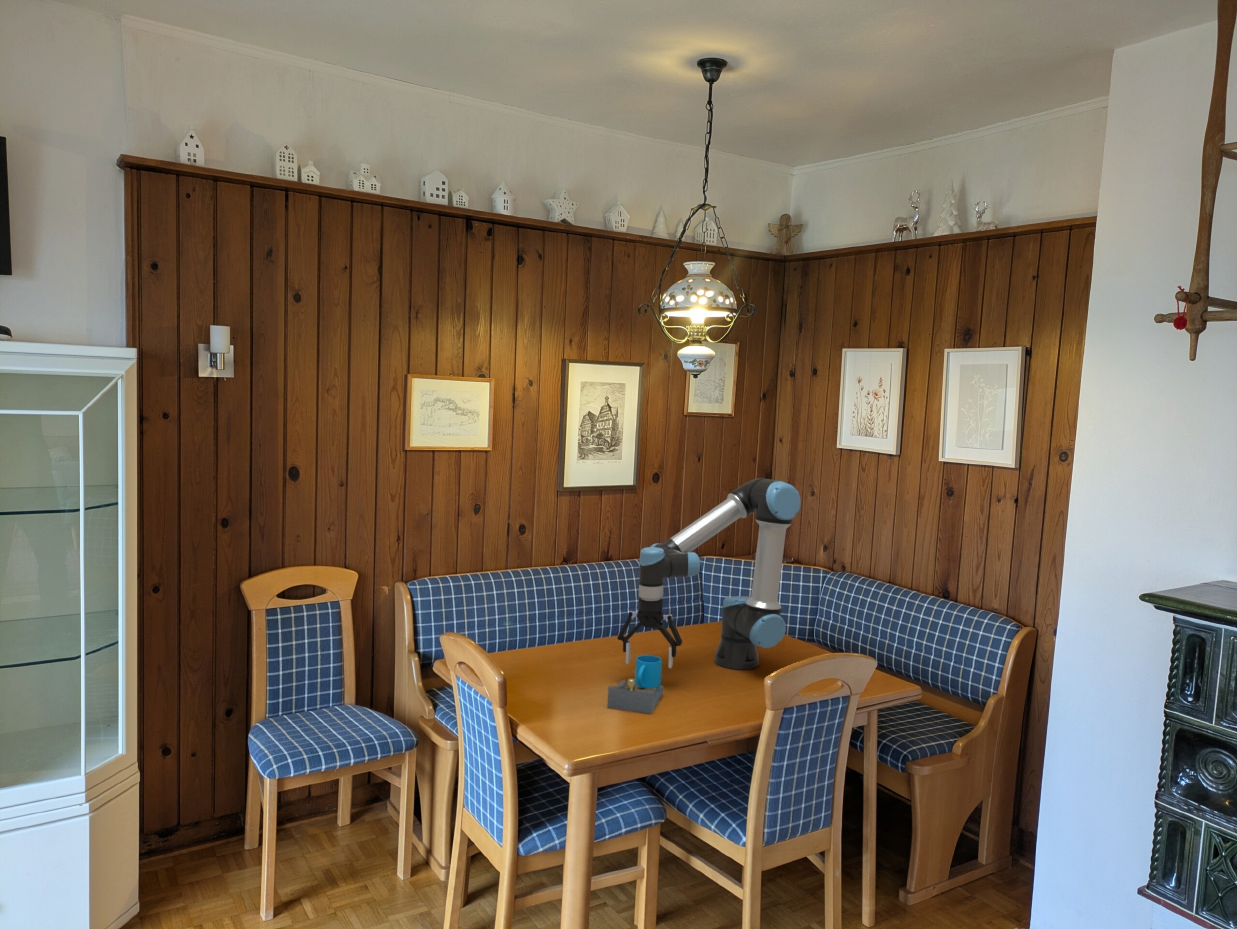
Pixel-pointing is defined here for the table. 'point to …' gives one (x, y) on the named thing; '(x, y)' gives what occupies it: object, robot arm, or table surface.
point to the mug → (648, 671)
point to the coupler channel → (633, 697)
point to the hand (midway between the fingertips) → (649, 664)
